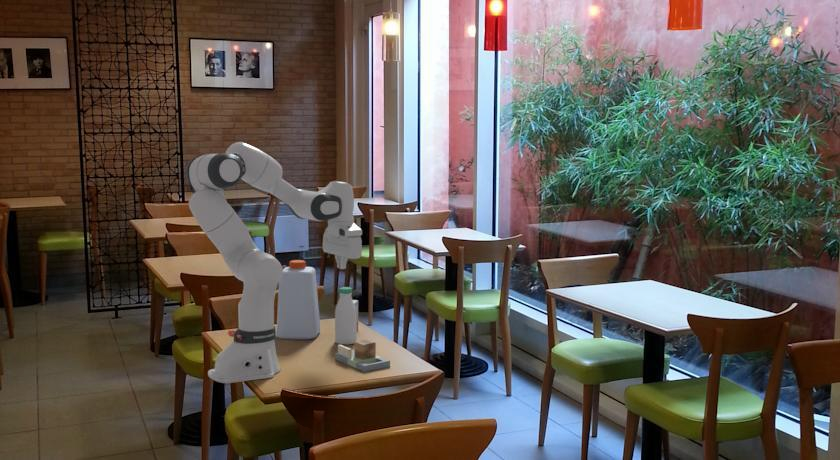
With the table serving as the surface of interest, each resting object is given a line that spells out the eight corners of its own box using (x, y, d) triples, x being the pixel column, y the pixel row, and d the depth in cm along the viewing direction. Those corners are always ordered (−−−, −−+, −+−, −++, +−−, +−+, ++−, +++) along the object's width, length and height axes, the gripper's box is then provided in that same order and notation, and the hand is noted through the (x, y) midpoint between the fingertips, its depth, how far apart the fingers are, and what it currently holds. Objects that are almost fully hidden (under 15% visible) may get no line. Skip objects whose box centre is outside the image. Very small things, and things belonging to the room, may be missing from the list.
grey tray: (364, 372, 266) (364, 356, 265) (335, 358, 280) (335, 344, 279) (390, 366, 272) (390, 351, 271) (360, 354, 286) (360, 339, 285)
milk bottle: (359, 344, 299) (359, 289, 296) (338, 346, 296) (338, 290, 294) (353, 338, 306) (352, 285, 303) (332, 340, 303) (332, 286, 301)
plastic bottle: (282, 329, 319) (281, 257, 315) (321, 330, 318) (321, 258, 314) (274, 340, 304) (272, 264, 300) (315, 340, 303) (314, 264, 300)
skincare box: (354, 334, 312) (354, 303, 310) (343, 334, 313) (343, 302, 311) (358, 330, 318) (358, 299, 316) (347, 330, 319) (347, 299, 317)
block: (363, 359, 272) (363, 344, 272) (354, 356, 276) (354, 341, 276) (375, 357, 275) (375, 342, 275) (366, 353, 279) (366, 339, 279)
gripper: (317, 226, 291) (318, 265, 292) (348, 232, 274) (349, 273, 276) (333, 224, 294) (334, 263, 296) (365, 231, 278) (365, 271, 280)
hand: (341, 268), depth 286 cm, fingers closed
